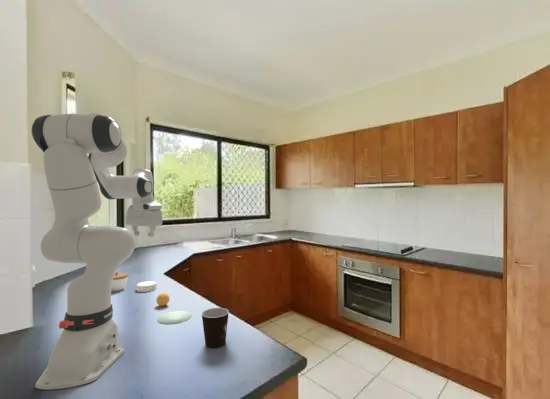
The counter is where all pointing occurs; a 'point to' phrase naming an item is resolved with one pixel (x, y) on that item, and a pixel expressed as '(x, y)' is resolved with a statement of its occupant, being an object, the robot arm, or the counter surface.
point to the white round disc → (146, 286)
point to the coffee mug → (215, 326)
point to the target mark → (174, 317)
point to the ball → (162, 299)
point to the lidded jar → (119, 281)
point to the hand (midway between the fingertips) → (143, 236)
